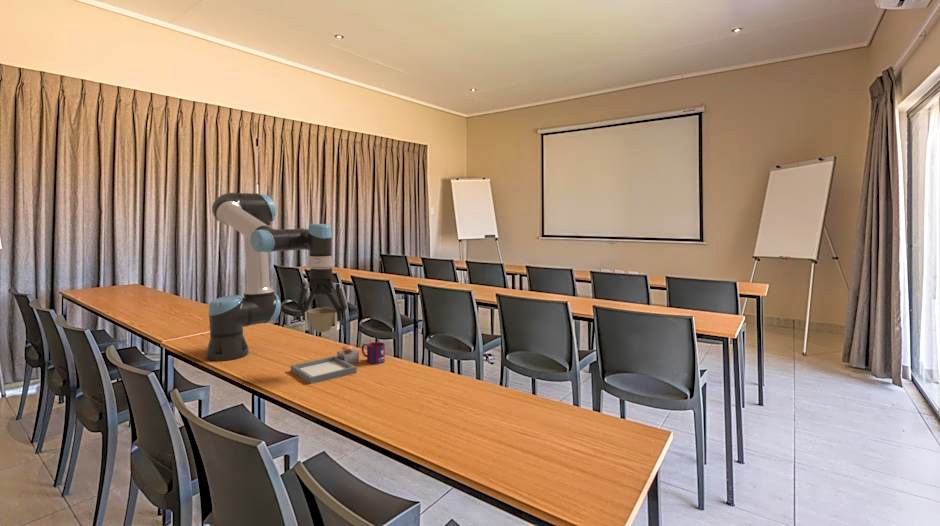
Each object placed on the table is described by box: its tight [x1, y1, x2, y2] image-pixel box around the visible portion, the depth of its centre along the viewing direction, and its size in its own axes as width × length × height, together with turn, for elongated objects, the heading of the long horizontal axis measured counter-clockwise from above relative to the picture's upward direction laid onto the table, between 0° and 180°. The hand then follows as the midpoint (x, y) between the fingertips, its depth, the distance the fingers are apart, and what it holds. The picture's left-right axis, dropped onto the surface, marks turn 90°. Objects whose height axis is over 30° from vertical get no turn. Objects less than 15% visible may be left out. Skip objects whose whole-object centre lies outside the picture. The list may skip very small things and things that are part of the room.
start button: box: [341, 345, 354, 353], centre depth 178 cm, size 4×4×3 cm
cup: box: [361, 341, 386, 365], centre depth 180 cm, size 7×10×7 cm
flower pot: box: [307, 307, 337, 333], centre depth 165 cm, size 10×10×7 cm
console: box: [336, 348, 360, 365], centre depth 178 cm, size 6×6×4 cm
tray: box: [290, 355, 358, 385], centre depth 167 cm, size 17×17×2 cm
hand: (322, 329), depth 165 cm, fingers closed on flower pot, 10 cm apart
